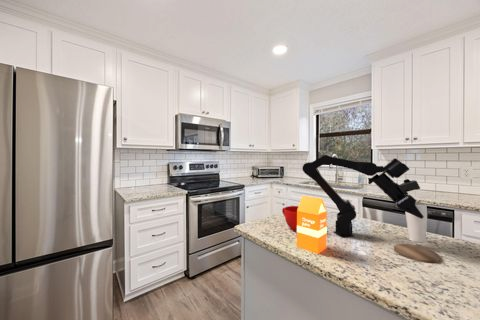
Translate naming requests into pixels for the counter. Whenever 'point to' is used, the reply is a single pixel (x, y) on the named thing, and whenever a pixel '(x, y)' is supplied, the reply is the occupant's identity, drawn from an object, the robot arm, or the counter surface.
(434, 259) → the walnut coaster
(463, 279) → the counter surface
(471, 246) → the counter surface
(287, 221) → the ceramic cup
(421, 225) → the white tapered cylinder
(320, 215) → the orange juice
